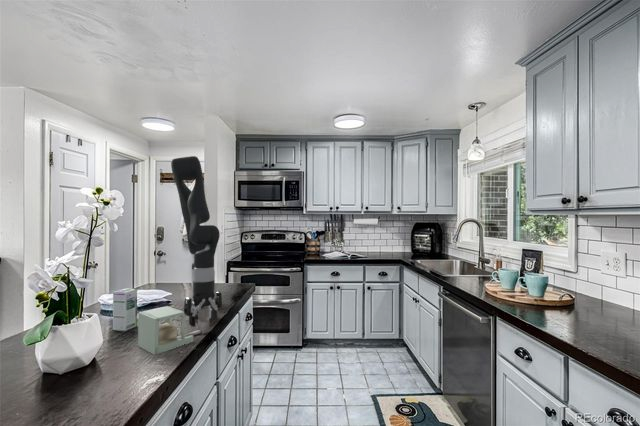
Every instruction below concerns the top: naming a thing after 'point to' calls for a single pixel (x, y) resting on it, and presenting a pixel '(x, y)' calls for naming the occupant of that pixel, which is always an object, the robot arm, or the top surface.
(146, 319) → the green windowed box
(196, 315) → the medicine bottle
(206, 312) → the towed block
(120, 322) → the syrup box
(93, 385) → the top surface
